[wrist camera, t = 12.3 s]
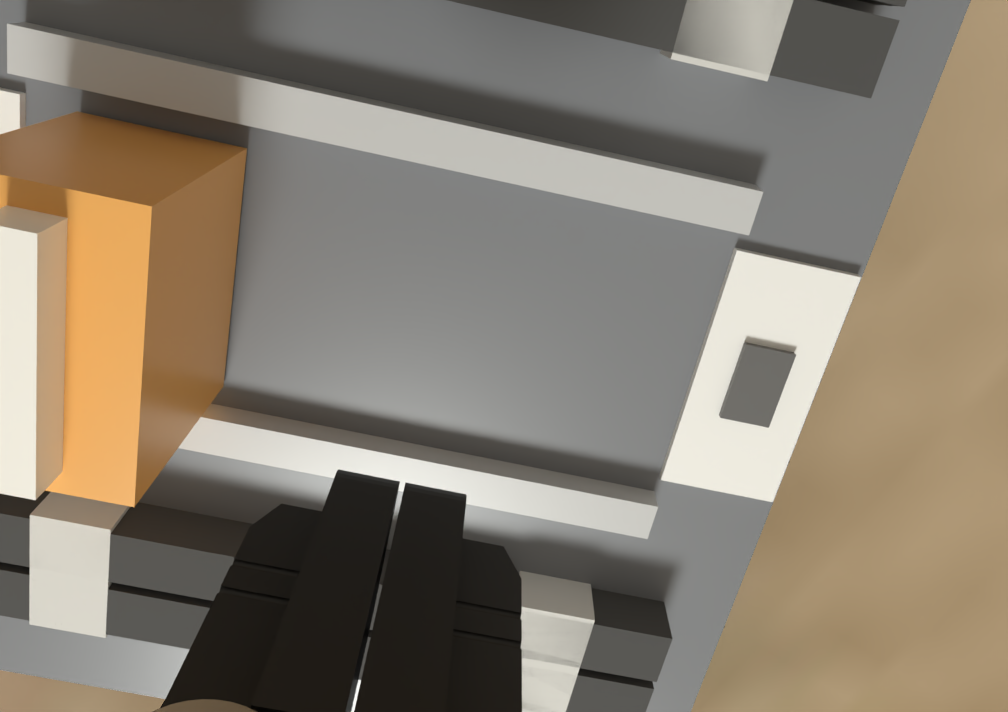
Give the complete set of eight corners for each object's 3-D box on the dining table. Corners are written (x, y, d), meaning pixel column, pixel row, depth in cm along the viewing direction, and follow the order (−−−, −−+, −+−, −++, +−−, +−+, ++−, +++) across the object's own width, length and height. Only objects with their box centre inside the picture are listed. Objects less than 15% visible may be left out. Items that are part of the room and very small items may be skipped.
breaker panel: (-50, -487, 14) (-191, -602, 12) (989, -218, 16) (1093, -263, 13) (-23, 587, 23) (-100, 673, 20) (648, 709, 24) (664, 806, 21)
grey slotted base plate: (42, -270, 16) (-93, -340, 12) (853, -72, 17) (938, -85, 13) (36, 512, 22) (-53, 610, 19) (620, 621, 23) (637, 733, 20)
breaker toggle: (77, 111, 16) (-121, 170, 11) (246, 148, 16) (127, 221, 11) (71, 356, 17) (-99, 498, 13) (223, 386, 18) (111, 537, 13)
